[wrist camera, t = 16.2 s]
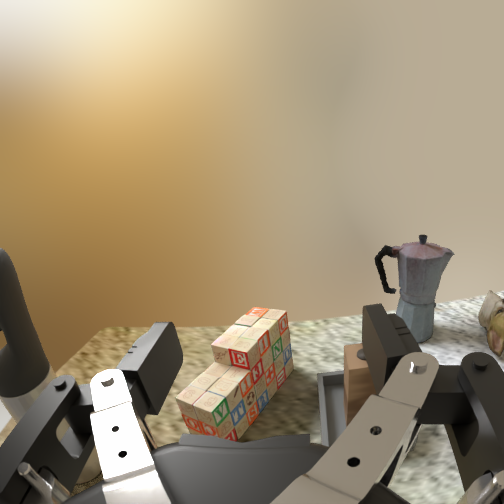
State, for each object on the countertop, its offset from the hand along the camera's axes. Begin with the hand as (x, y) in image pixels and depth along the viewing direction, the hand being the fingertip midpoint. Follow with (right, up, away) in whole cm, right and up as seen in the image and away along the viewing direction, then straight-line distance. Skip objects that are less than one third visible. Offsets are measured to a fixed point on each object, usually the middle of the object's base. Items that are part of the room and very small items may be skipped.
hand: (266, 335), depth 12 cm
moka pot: (+31, -13, +42) cm, 54 cm away
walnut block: (+15, -19, +25) cm, 35 cm away
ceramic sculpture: (+47, -14, +31) cm, 58 cm away
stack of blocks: (-1, -21, +33) cm, 39 cm away
